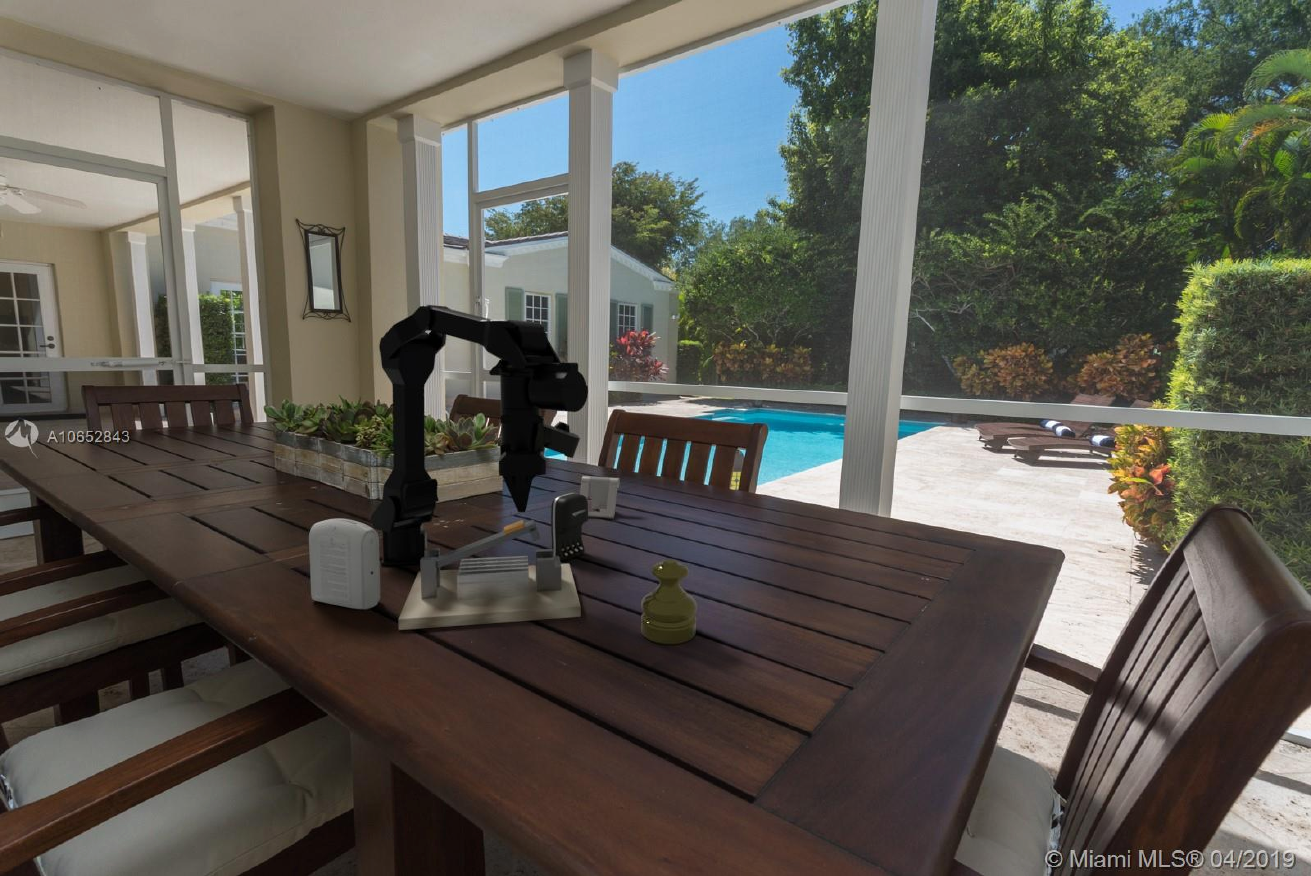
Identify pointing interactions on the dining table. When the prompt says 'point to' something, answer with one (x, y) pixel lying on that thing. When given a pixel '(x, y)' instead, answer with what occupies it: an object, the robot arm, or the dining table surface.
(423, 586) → the bracket
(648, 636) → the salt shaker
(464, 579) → the finned block
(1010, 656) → the dining table surface
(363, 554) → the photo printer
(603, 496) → the portable electronic device stand
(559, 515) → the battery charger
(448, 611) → the base board
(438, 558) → the strap
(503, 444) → the robot arm
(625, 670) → the dining table surface
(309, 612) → the dining table surface
